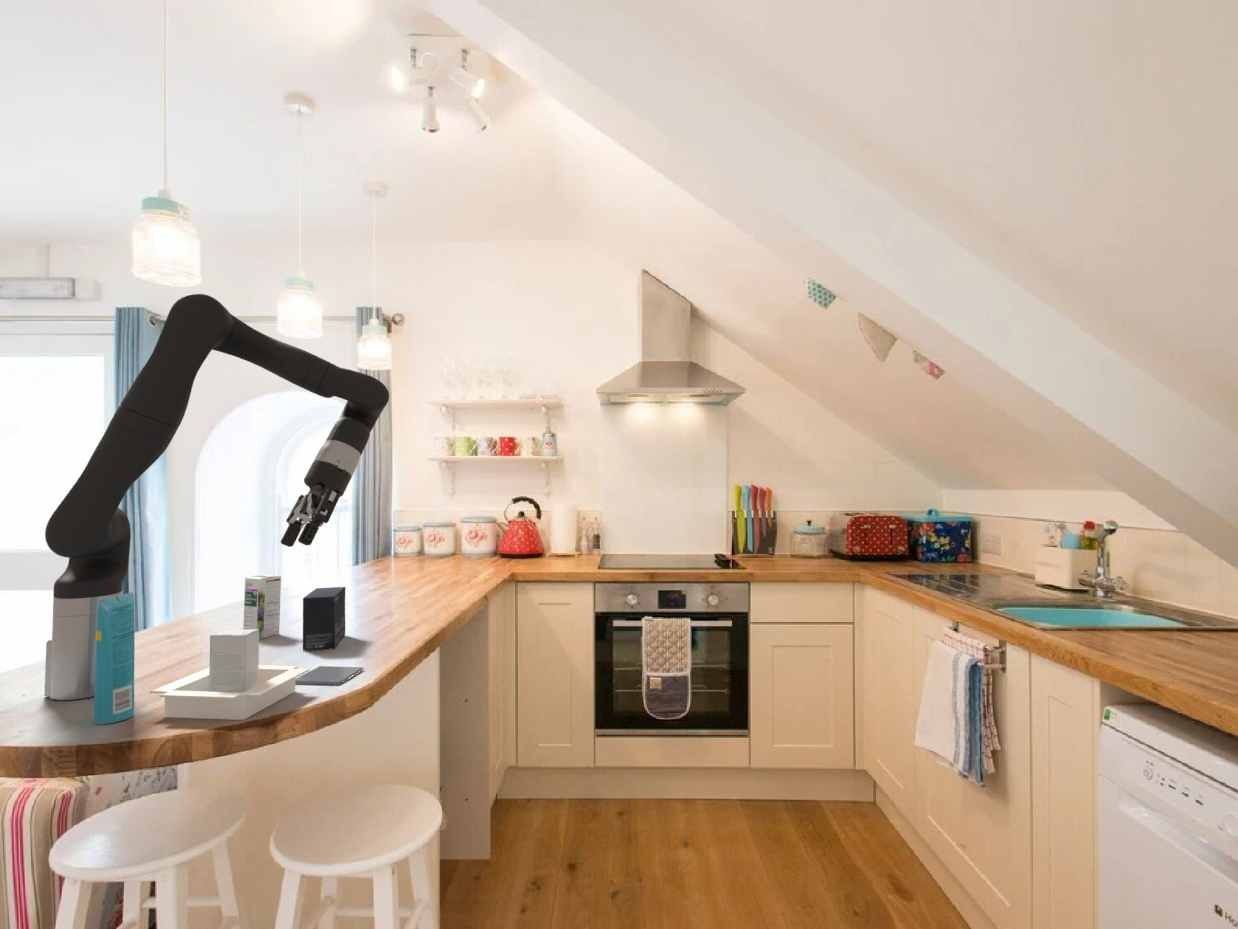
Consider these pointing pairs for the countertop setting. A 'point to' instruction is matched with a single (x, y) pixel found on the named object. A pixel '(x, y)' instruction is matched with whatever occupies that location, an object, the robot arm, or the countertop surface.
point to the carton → (227, 695)
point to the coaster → (327, 675)
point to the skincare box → (234, 660)
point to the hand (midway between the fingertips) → (294, 544)
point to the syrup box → (262, 604)
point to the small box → (323, 618)
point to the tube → (114, 660)
